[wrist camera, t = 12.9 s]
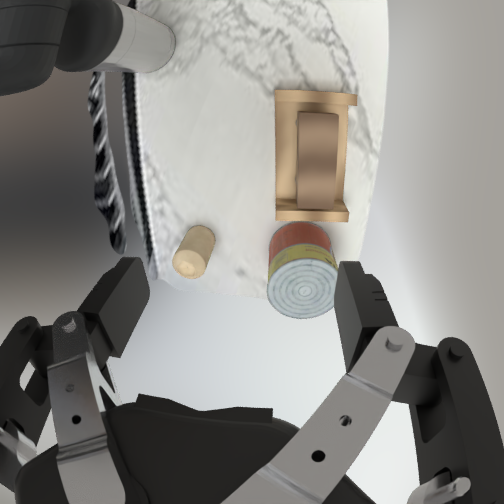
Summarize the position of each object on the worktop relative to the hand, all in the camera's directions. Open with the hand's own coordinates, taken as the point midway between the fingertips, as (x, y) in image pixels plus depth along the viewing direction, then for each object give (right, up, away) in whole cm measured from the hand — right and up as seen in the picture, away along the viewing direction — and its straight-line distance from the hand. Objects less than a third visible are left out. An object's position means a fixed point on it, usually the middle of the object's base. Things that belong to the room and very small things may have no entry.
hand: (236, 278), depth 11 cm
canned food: (+9, +2, +41) cm, 42 cm away
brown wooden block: (+9, +15, +27) cm, 32 cm away
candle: (-9, +4, +41) cm, 42 cm away
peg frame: (+10, +17, +31) cm, 37 cm away
